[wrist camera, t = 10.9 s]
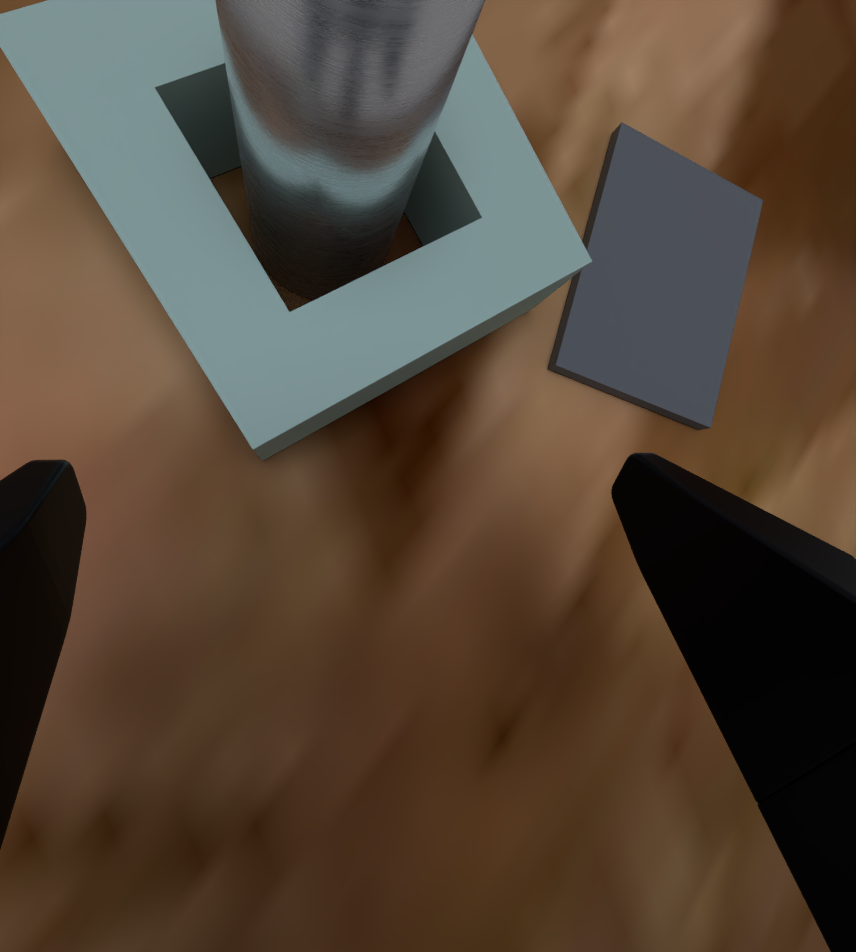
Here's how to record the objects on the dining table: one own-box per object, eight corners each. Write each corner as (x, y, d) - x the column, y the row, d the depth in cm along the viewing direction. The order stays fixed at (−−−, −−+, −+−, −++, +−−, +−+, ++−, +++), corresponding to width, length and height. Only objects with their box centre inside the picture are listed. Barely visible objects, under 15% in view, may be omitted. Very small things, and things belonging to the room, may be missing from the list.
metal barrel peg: (411, 234, 18) (634, -261, 6) (334, 328, 17) (425, -40, 5) (308, 143, 17) (340, -623, 5) (222, 237, 16) (41, -426, 5)
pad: (698, 429, 20) (710, 427, 20) (547, 369, 19) (555, 365, 18) (750, 208, 22) (763, 200, 21) (612, 133, 20) (621, 122, 19)
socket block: (539, 305, 19) (602, 255, 15) (262, 461, 16) (252, 449, 12) (386, 25, 18) (412, -105, 14) (62, 142, 15) (-18, 18, 11)
